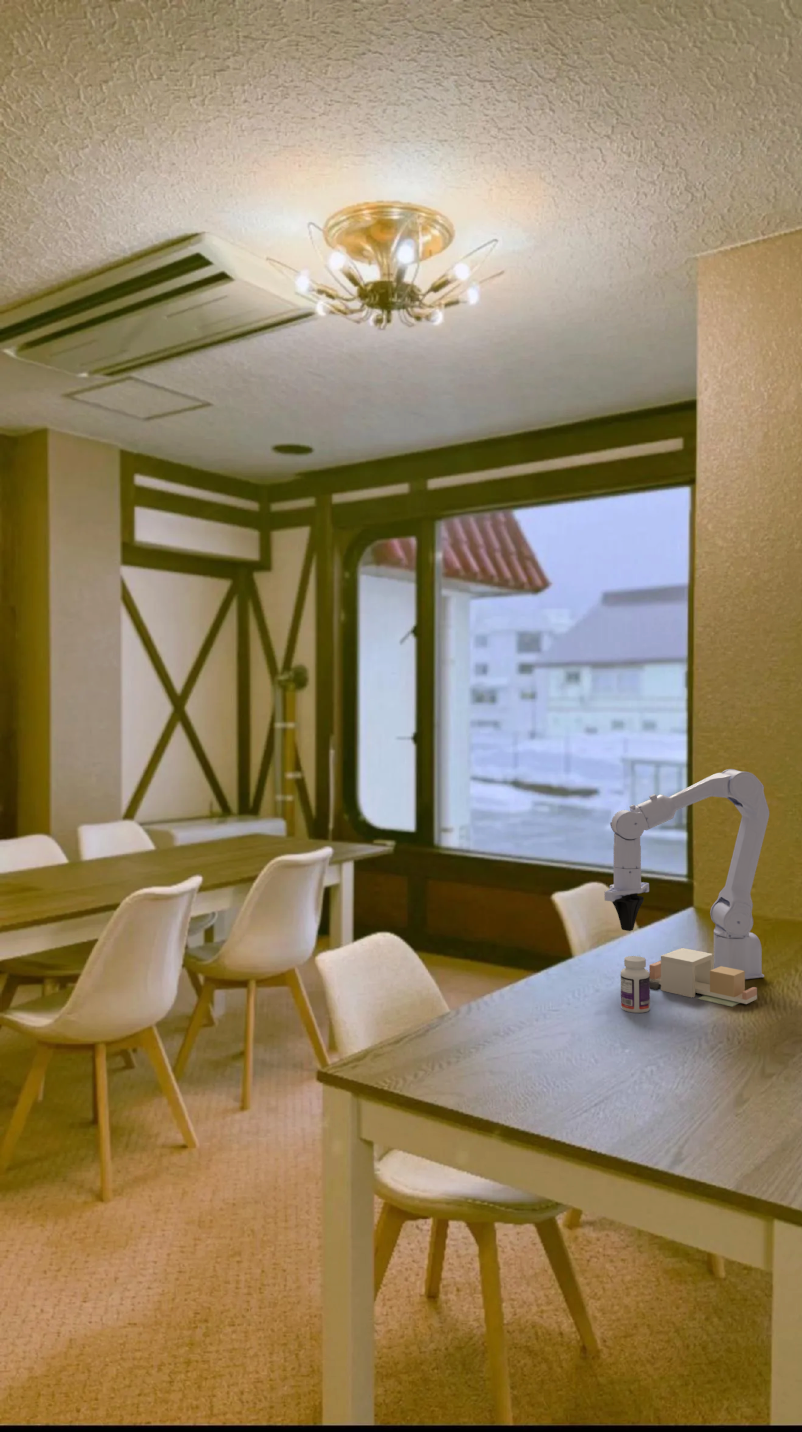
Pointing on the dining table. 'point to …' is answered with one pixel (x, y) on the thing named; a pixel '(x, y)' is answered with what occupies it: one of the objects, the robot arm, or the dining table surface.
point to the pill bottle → (635, 985)
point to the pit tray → (654, 985)
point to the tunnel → (685, 971)
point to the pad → (718, 1000)
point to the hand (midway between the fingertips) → (627, 929)
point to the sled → (717, 984)
